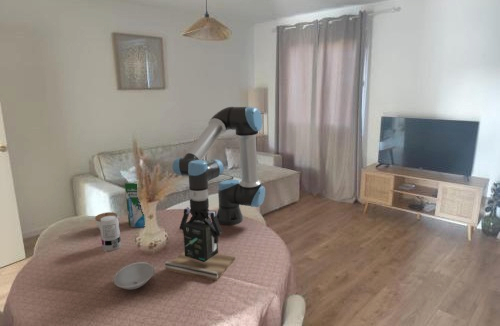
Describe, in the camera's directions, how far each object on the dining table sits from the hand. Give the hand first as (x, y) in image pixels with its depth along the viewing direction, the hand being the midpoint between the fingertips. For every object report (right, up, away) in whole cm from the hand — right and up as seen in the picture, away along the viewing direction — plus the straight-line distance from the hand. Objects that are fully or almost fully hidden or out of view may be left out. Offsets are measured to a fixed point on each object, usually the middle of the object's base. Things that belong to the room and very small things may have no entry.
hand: (201, 247), depth 140 cm
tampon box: (0, -3, +1) cm, 4 cm away
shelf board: (0, -8, +3) cm, 9 cm away
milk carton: (-41, +1, +47) cm, 62 cm away
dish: (-24, -12, -11) cm, 29 cm away
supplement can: (-46, -5, +19) cm, 50 cm away
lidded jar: (-57, -1, +40) cm, 69 cm away
